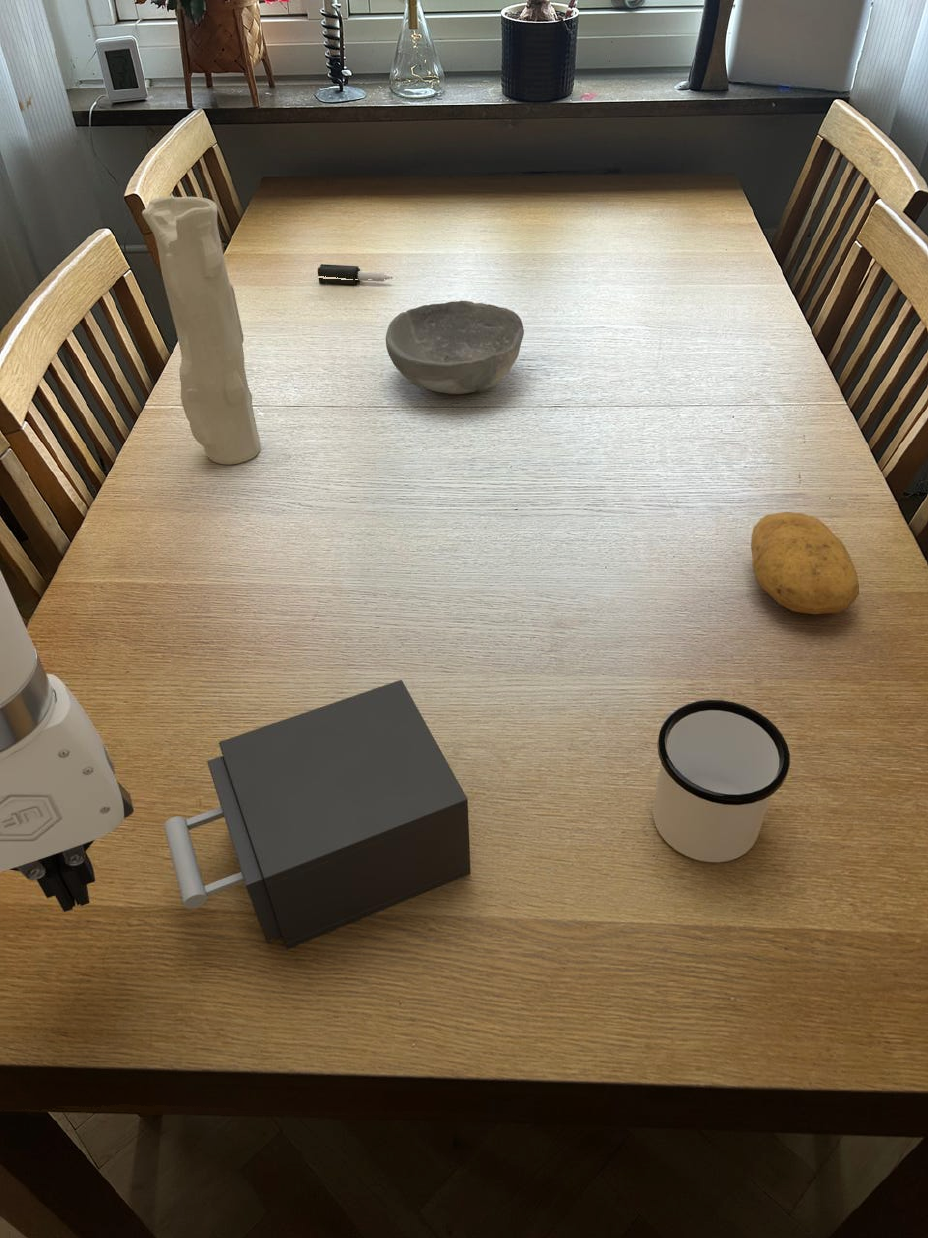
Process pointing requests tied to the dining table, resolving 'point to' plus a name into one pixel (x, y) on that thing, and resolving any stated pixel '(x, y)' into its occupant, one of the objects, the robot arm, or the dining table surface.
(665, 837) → the mug
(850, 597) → the potato
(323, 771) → the dark grey drawer box
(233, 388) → the vase
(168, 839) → the drawer front with handle
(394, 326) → the bowl
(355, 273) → the black and grey marker
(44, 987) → the dining table surface
